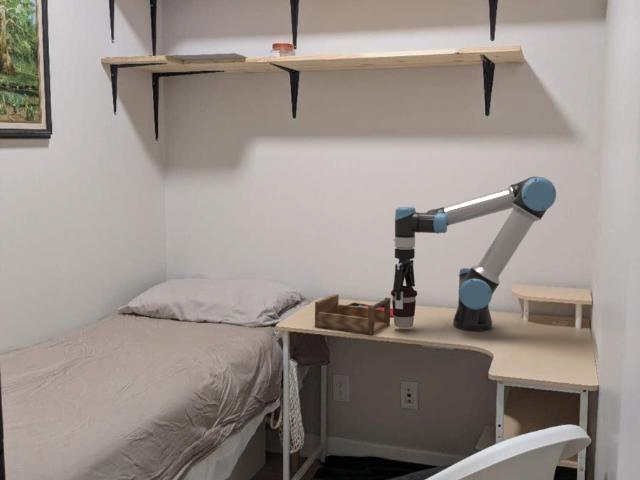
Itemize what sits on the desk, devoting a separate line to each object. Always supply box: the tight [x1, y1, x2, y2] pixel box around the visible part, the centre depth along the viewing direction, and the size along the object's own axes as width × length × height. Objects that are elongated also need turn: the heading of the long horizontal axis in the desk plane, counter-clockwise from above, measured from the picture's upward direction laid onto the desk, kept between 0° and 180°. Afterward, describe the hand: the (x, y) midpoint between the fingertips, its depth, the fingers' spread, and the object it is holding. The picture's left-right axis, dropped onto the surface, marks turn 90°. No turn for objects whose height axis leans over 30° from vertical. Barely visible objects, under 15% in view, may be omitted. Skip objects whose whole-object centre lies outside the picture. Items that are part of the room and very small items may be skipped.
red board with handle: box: [347, 302, 394, 319], centre depth 300 cm, size 30×3×15 cm
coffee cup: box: [390, 285, 418, 329], centre depth 265 cm, size 10×10×15 cm
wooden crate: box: [314, 293, 392, 336], centre depth 271 cm, size 24×18×11 cm
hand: (403, 305), depth 265 cm, fingers closed on coffee cup, 10 cm apart
